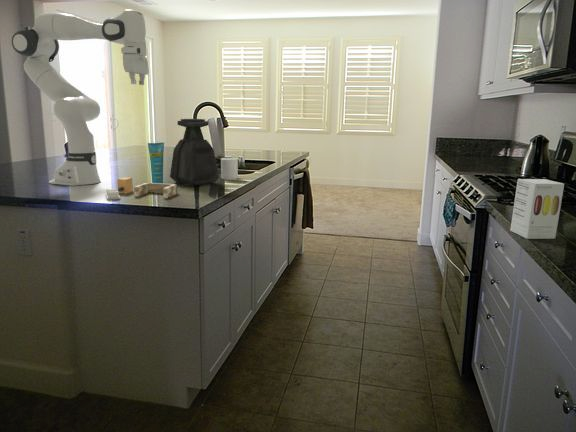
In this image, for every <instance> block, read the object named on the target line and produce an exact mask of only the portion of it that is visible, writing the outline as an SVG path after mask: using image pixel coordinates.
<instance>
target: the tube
mask: <svg viewBox="0 0 576 432" xmlns="http://www.w3.org/2000/svg"><path fill="white" fill-rule="evenodd" d="M147 147H148V153H149V161H150V162H149V163H150V172H151V183H164V151H165V142H148V143H147Z"/></svg>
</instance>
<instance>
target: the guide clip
mask: <svg viewBox="0 0 576 432" xmlns="http://www.w3.org/2000/svg"><path fill="white" fill-rule="evenodd" d="M105 192H106V194H105V199H106V200H107V201H110V200H111V201H112V200H115V201H116V200H121V196H120V193H119V192H118V188H108V189H107V188H106V191H105Z"/></svg>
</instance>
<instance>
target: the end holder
mask: <svg viewBox="0 0 576 432" xmlns="http://www.w3.org/2000/svg"><path fill="white" fill-rule="evenodd" d="M133 192H134V197H141V196H144V195H147V194H149V193H148V192H154V193H153V194H162V195H163V197H162V198H163V199H169V198H170V197H173V196H176V195H177V194H178V183H164V182H163V183H152V182H144V183H141V184H139V185H136V186H134V187H133ZM168 197H169V198H168Z"/></svg>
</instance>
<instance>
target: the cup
mask: <svg viewBox="0 0 576 432" xmlns="http://www.w3.org/2000/svg"><path fill="white" fill-rule="evenodd" d="M238 162H239V161H238V158H236V157H222V158H220V169H221V171H220V176H221V179H222V180H223V181H224V180H225V181H234V180H235V181H236V180H237V179H238V177H239V176H238V175H239V174H238V171H239V169H238V168H239V167H238V166H239V165H238V164H239V163H238Z"/></svg>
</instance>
